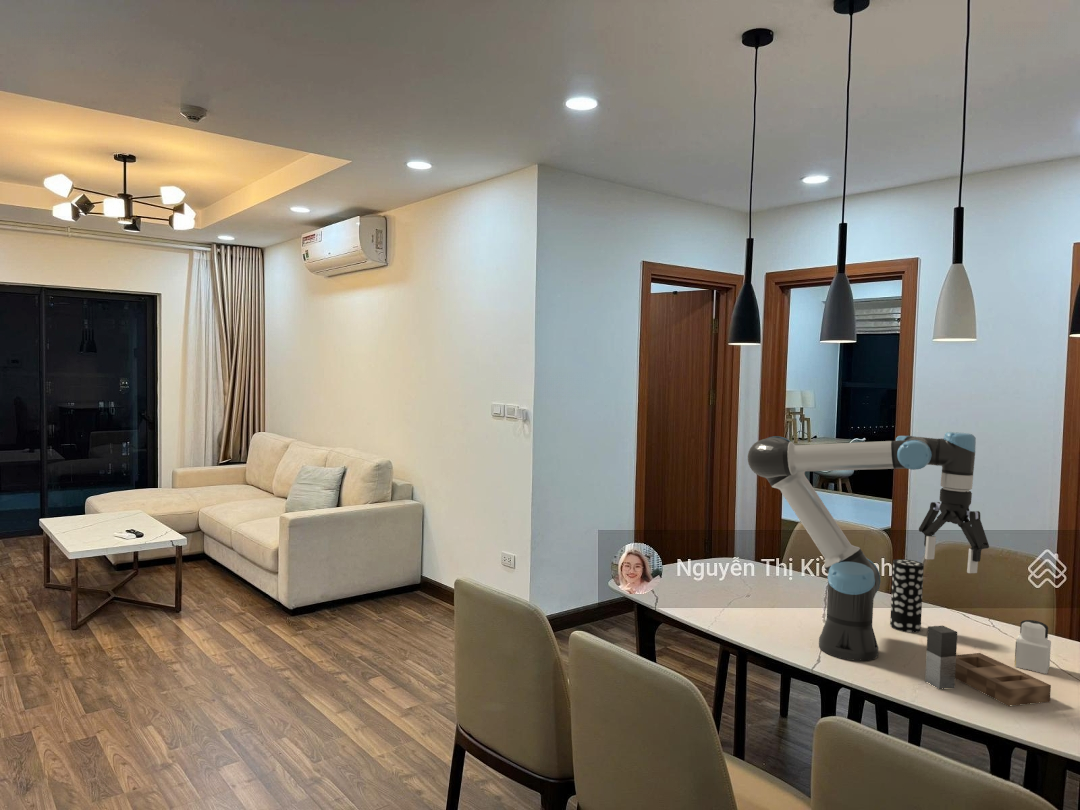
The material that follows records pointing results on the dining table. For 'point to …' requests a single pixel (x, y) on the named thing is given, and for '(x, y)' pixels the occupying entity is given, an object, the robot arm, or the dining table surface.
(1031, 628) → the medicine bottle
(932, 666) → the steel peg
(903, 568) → the spotted tube
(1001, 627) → the dining table surface
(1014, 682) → the wooden compartment tray
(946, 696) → the dining table surface
